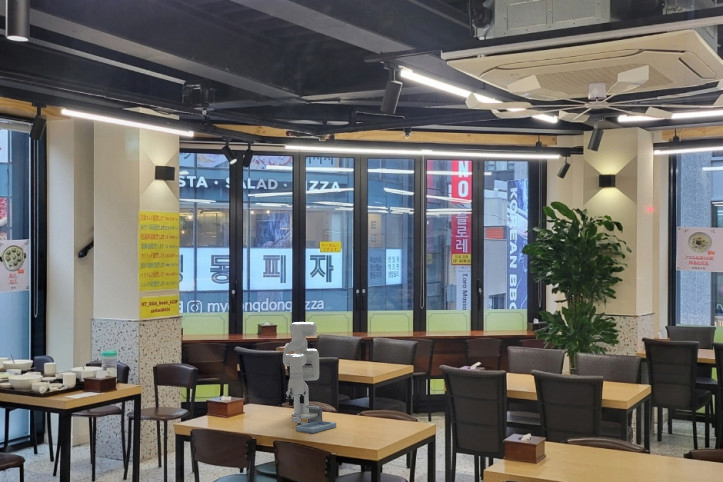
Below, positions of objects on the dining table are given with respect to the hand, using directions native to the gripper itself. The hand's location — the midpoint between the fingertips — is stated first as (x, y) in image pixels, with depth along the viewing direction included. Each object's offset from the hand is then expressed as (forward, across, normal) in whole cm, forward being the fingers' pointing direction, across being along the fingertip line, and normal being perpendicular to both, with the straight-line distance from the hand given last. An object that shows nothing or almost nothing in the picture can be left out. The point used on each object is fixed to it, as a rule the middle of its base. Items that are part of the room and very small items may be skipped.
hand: (296, 404), depth 483 cm
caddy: (+14, -8, -1) cm, 16 cm away
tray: (+14, -3, +12) cm, 19 cm away
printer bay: (+14, -12, 0) cm, 18 cm away
